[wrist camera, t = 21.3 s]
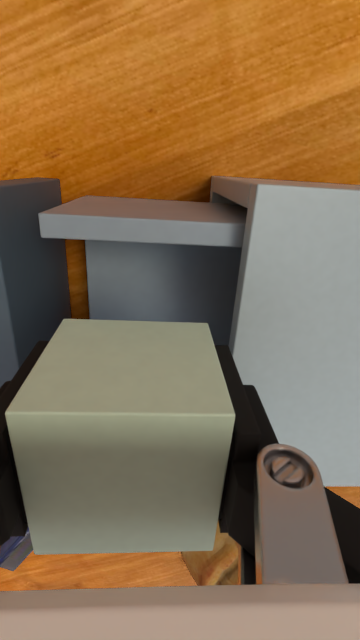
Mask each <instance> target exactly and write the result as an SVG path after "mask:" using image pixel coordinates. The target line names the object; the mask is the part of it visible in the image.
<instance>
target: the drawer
mask: <svg viewBox="0 0 360 640" xmlns="http://www.w3.org/2000/svg"><path fill="white" fill-rule="evenodd" d="M247 210H248V208H246V207H243V206H241V205H239V204H225V203H208V202H190V201H173V200H156V199H139V198H122V197H105V196H84V197H80V198H78V199H75V200H73V201H70V202H67V203H65V204H62V202H61V191H60V180H59V179H53V178H26V179H14V180H2V181H0V388H1V386H2V385H3V384H4V383H5V382H6V381H11V380H12V378H13V377H14V376H15V374H16V373H17V371H18V370H19V368H20V367H21V365H22V364H23V362H24V361H25V360H26V358H27V357H28V355H29V354H30V352H31V351H32V349H33V348H34V347H35V345H36V344H37V342H38V341H50V340H51V338H52V337H53V335H54V333H55V332H56V330H57V329H58V327H59V325H60V324H61V322H62V321H63V319H71V307H70V295H69V284H68V272H67V260H66V249H65V239H77V240H85V252H86V268H87V285H88V301H89V317H90V319H92V320H124V321H157V322H190V323H208V326H209V329H210V332H211V336H212V339H213V342H214V345H228V346H229V340H230V333H231V326H232V318H233V311H234V304H235V297H236V290H237V282H238V275H239V268H240V261H241V253H242V246H243V239H244V232H245V224H246V217H247Z"/></svg>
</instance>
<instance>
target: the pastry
mask: <svg viewBox="0 0 360 640" xmlns="http://www.w3.org/2000/svg"><path fill="white" fill-rule="evenodd" d="M181 553H182V557H183V560H184V562H185V564H186V566H187V568H188V570H189V572H190V574H191V575H192V577H193V579H194V580H195V582H196V583H197V585H198V586H213V585H238V543H237V542H236V541H235V540H234V539H232V538H231V537H230V536H229V535H228V533H220V528H219V522H218V523H217V529H216V535H215V541H214V547H213V550H212V551H181Z"/></svg>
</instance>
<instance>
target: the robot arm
mask: <svg viewBox="0 0 360 640" xmlns="http://www.w3.org/2000/svg"><path fill="white" fill-rule="evenodd" d="M48 343H49V341H38V342H37V344H36V345H35V347H34V348H33V349H32V351H31V352H30V354H29V355H28V357H27V358H26V360H25V361H24V362H23V364H22V365H21V367H20V368H19V370H18V371H17V373H16V374H15V376H14V377H13V378H12V380H11V381H6V382H5V383H4V384H3V385H2V386H1V388H0V547H1V545H2V544H4V543H5V542H6V541H8V540H9V539H10V537H18V536H25V534H26V532H27V529H28V522H27V517H26V512H25V507H24V503H23V498H22V493H21V488H20V484H19V479H18V474H17V469H16V465H15V460H14V455H13V450H12V445H11V441H10V436H9V431H8V426H7V422H6V417H5V412H6V410H7V408H8V407H9V405H10V404H11V402H12V400H13V399H14V397H15V396H16V394H17V392H18V391H19V389H20V388H21V386H22V384H23V383H24V381H25V380H26V378H27V376H28V375H29V373H30V372H31V370H32V368H33V367H34V365H35V364H36V362H37V360H38V359H39V357H40V356H41V354H42V352H43V351H44V349H45V348H46V346H47V345H48ZM214 346H215V349H216V352H217V356H218V359H219V362H220V366H221V369H222V372H223V375H224V379H225V382H226V385H227V389H228V392H229V395H230V399H231V402H232V405H233V409H234V412H235V421H234V427H233V433H232V439H231V445H230V451H229V457H228V463H227V469H226V475H225V481H224V487H223V493H222V499H221V505H220V511H219V517H218V522H219V528H220V533H228V535H229V536H230V537H231V538H232V539H234V540H235V541H236V542H237V543H238V585H213V586H170V587H134V588H98V589H64V590H30V591H0V640H360V509H359V508H358V507H356V506H354V505H353V504H351V503H349V502H348V501H346V500H345V499H343V498H341V497H340V496H338V495H337V494H335V493H333V492H332V491H330V490H329V489H327V488H325V487H324V485H323V481H322V477H321V474H320V471H319V469H318V467H317V465H316V463H315V462H314V461H313V460H312V458H311V457H310V456H308V455H307V454H306V453H304V452H303V451H301V450H299V449H297V448H296V447H293V446H290V445H286V444H279V442H278V440H277V437H276V435H275V433H274V430H273V428H272V426H271V423H270V421H269V419H268V416H267V414H266V412H265V409H264V407H263V404H262V402H261V400H260V397H259V395H258V393H257V390H256V388H255V387H254V386H253V385H243V383H242V381H241V378H240V375H239V373H238V370H237V367H236V365H235V362H234V359H233V357H232V354H231V351H230V349H229V346H228V345H214Z"/></svg>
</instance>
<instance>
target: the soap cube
mask: <svg viewBox="0 0 360 640" xmlns="http://www.w3.org/2000/svg"><path fill="white" fill-rule="evenodd" d="M5 417H6V422H7V426H8V431H9V436H10V441H11V445H12V450H13V455H14V460H15V465H16V469H17V474H18V479H19V484H20V488H21V493H22V498H23V503H24V507H25V512H26V517H27V522H28V527H29V531H30V536H31V541H32V546H33V550H34V554H36V555H38V554H84V553H131V552H177V551H212V550H213V547H214V541H215V535H216V529H217V523H218V517H219V511H220V505H221V499H222V493H223V487H224V481H225V475H226V469H227V463H228V457H229V451H230V445H231V439H232V433H233V427H234V421H235V412H234V409H233V405H232V402H231V399H230V395H229V392H228V389H227V385H226V382H225V379H224V375H223V372H222V369H221V366H220V362H219V359H218V356H217V352H216V349H215V346H214V342H213V339H212V336H211V332H210V329H209V326H208V323H190V322H157V321H124V320H92V319H63V321H62V322H61V324H60V325H59V327H58V329H57V330H56V332H55V333H54V335H53V337H52V338H51V340H50V341H49V343H48V345H47V346H46V348H45V349H44V351H43V352H42V354H41V356H40V357H39V359H38V360H37V362H36V364H35V365H34V367H33V368H32V370H31V372H30V373H29V375H28V376H27V378H26V380H25V381H24V383H23V384H22V386H21V388H20V389H19V391H18V392H17V394H16V396H15V397H14V399H13V400H12V402H11V404H10V405H9V407H8V408H7V410H6V412H5Z"/></svg>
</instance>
